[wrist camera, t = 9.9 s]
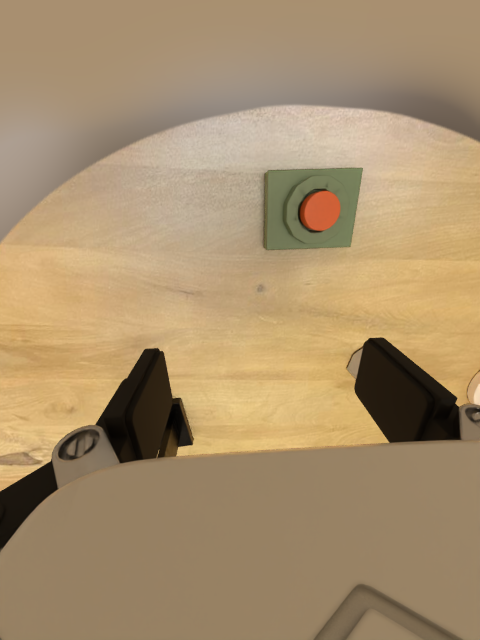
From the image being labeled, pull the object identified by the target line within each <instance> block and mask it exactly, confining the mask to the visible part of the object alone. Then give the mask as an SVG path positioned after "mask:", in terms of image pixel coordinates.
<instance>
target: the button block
mask: <svg viewBox="0 0 480 640" xmlns="http://www.w3.org/2000/svg"><path fill="white" fill-rule="evenodd" d="M362 171H363V168H336V169H301V170H269V171H267V172H266V173H265V222H264V248H265V249H266V250H284V249H310V248H336V247H350V246H351V240H352V234H353V228H354V221H355V215H356V209H357V202H358V196H359V190H360V184H361V177H362ZM320 191H329V192H332V193H333V194H335V195H336V196H337V198H338V200H339V202H340V214H339V217H338V219H337V221H336V222H335V223H334V225H332V226H331V227H330V228H328V229H326V230H323V231H317V230H312V229H309V228H307V227H306V226H304V224H303V223H302V221H301V219H300V208H301V205H302V203H303V201H304V200H305V199H306V198H307V197H308V196H309V195H310V194H312V193H315V192H320Z"/></svg>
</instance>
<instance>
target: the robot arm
mask: <svg viewBox="0 0 480 640" xmlns="http://www.w3.org/2000/svg"><path fill="white" fill-rule="evenodd" d="M355 393H356V395H357V397H358V398H359V399H360V401H361V402H362V404H363V405H364V407H365V408H366V409H367V411H368V412H369V414H370V415H371V417H372V418H373V419H374V421H375V422H376V424H377V425H378V427H379V428H380V430H381V431H382V432H383V434H384V435H385V437H386V438H387V440H388V441H389V442H390V443H378V444H359V445H342V446H325V447H308V448H292V449H276V450H260V451H245V452H230V453H215V454H200V455H188V456H175V457H164V458H156V457H157V454H158V450H159V447H160V444H161V440H162V437H163V433H164V430H165V426H166V423H167V420H168V416H169V413H170V409H171V406H172V393H171V388H170V382H169V377H168V372H167V367H166V361H165V356H164V352H163V351H160V350H159V349H158V348H154V349H145V350H144V351H143V353H142V355H141V356H140V358H139V360H138V361H137V363H136V364H135V366H134V368H133V369H132V371H131V373H130V374H129V376H128V378H127V379H124V380H123V381H122V383H121V384H120V386H119V388H118V389H117V391H116V392H115V394H114V396H113V397H112V399H111V400H110V402H109V404H108V405H107V407H106V408H105V410H104V412H103V413H102V415H101V416H100V418H99V420H98V421H97V423H96V425H88V426H84V427H81V428H78V429H76V430H74V431H72V432H70V433H69V434H67V435H66V436H65V437H64V438H62V439H61V440H60V441H59V442H58V444H57V445H56V446H55V448H54V450H53V452H52V461H51V462H49V463H47V464H46V465H44V466H42V467H41V468H39V469H37V470H36V471H34V472H32V473H31V474H29V475H27V476H26V477H24V478H22V479H20V480H19V481H17V482H15V483H14V484H12V485H10V486H9V487H7V488H5V489H4V490H2V491H0V640H480V405H477V404H463V405H462V406H460V407H458V406H457V405H456V404H455V402H456V400H457V397H456V396H454V395H453V394H452V393H451V392H450V391H448V390H447V389H446V388H445V387H443V386H442V385H441V384H440V383H438V382H437V381H436V380H435V379H434V378H432V377H431V376H430V375H429V374H427V373H426V372H425V371H424V370H423V369H421V368H420V367H419V366H418V365H416V364H415V363H414V362H413V361H412V360H410V359H409V358H408V357H407V356H405V355H404V354H403V353H402V352H400V351H399V350H398V349H397V348H396V347H394V346H393V345H392V344H391V343H389V342H388V341H387V340H386V339H384V338H369V339H368V340H367V341H366V342H365V343H364V345H363V350H362V355H361V359H360V364H359V368H358V373H357V378H356V382H355Z"/></svg>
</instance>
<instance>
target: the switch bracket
mask: <svg viewBox="0 0 480 640" xmlns="http://www.w3.org/2000/svg"><path fill="white" fill-rule="evenodd" d="M188 445H193V436H192V433H191V430H190V427H189V424H188V420H187V417H186V414H185V411H184V408H183V404H182V401H181V398H176V399H172V406H171V409H170V413H169V416H168V420H167V423H166V426H165V430H164V433H163V437H162V440H161V444H160V447H159V449H160V450H159V453H158V457H157V458H164V457H175V456H176V454H177V450H178V447H181V446H188Z"/></svg>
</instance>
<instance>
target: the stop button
mask: <svg viewBox="0 0 480 640" xmlns="http://www.w3.org/2000/svg"><path fill="white" fill-rule="evenodd" d="M339 214H340V202H339V200H338V198H337V196H336V195H335V194H333V193H332V192H329V191H320V192H315V193H312V194H310V195H309V196H308V197H307V198H306V199H305V200H304V201H303V203H302V205H301V208H300V219H301V221H302V223H303V224H304V226H306V227H307V228H309V229H312V230H317V231H323V230H326V229H328V228H330V227H331V226H332V225H334V223H335V222H336V221H337V219H338V217H339Z"/></svg>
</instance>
